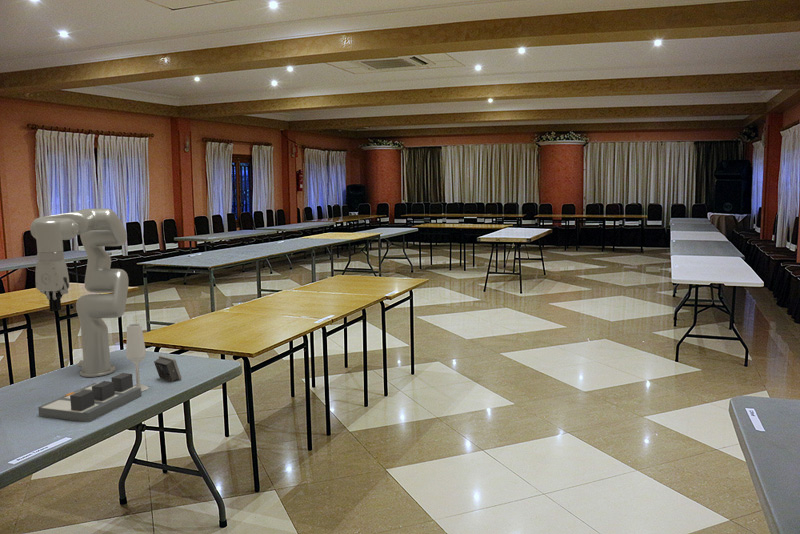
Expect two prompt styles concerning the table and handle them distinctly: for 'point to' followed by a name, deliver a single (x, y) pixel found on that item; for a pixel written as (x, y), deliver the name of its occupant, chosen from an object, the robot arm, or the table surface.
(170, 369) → the electrical switch
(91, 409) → the breaker panel
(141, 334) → the champagne flute
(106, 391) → the block
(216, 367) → the table surface
